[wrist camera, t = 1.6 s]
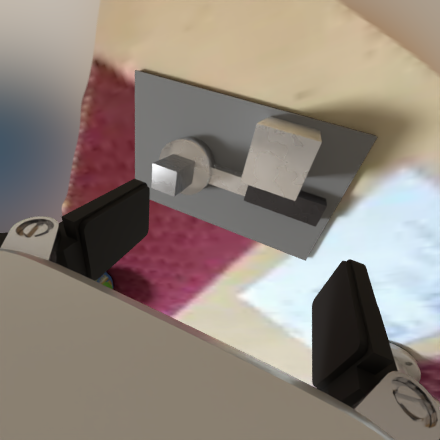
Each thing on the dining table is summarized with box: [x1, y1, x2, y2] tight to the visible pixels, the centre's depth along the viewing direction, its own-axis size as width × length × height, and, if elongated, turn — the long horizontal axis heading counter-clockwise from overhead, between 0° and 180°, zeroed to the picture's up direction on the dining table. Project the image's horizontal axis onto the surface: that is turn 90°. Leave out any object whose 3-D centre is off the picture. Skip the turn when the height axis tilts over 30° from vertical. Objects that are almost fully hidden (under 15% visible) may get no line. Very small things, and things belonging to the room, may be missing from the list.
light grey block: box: [240, 116, 322, 201], centre depth 22 cm, size 5×5×7 cm
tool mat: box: [135, 70, 377, 261], centre depth 29 cm, size 28×17×1 cm, turn 78°
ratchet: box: [151, 137, 327, 227], centre depth 26 cm, size 21×7×7 cm, turn 78°
